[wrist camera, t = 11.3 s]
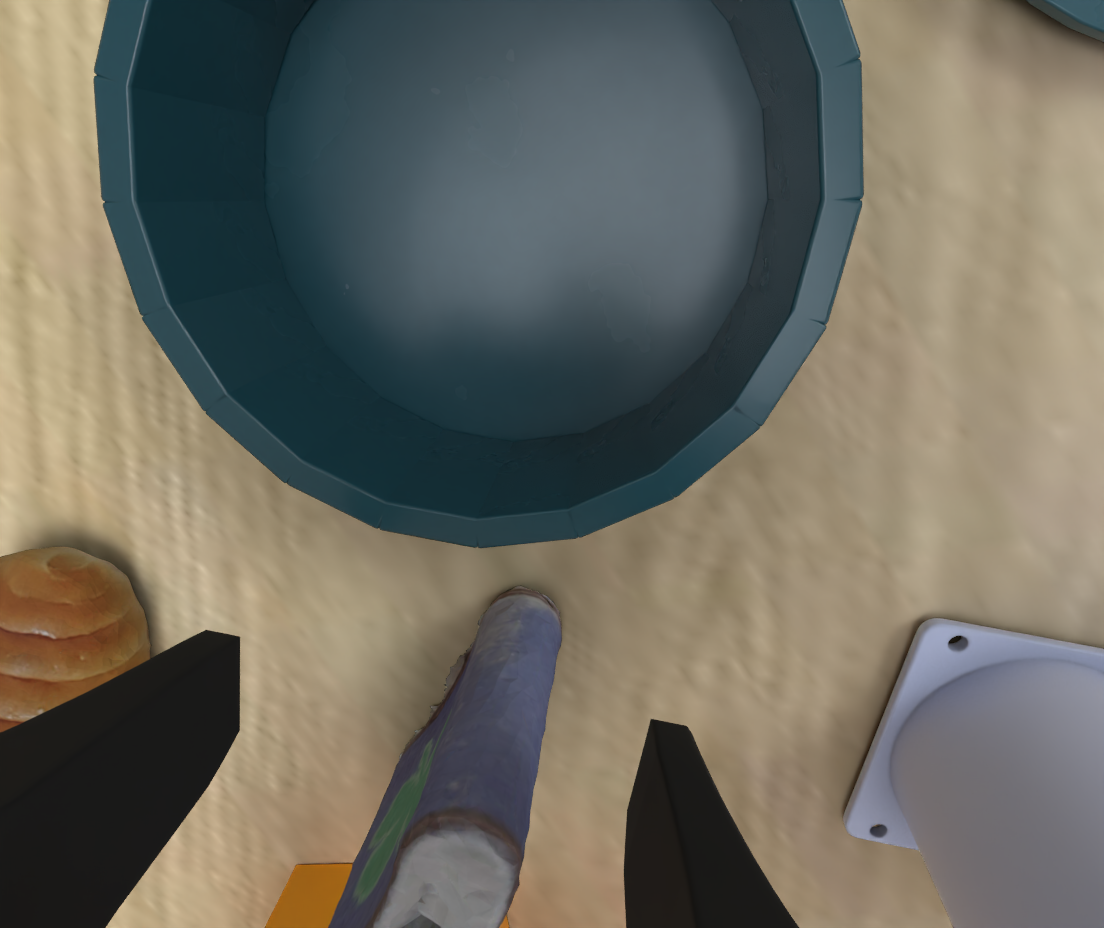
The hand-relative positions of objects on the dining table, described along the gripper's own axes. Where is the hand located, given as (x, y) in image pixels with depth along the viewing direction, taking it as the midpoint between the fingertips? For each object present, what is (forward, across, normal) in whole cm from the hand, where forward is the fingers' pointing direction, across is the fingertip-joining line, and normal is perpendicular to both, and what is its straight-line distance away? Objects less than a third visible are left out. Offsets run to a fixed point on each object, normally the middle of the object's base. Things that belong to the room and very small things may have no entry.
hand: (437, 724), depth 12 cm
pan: (+9, +1, -8) cm, 12 cm away
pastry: (+9, +14, +9) cm, 19 cm away
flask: (+9, 0, +7) cm, 11 cm away
